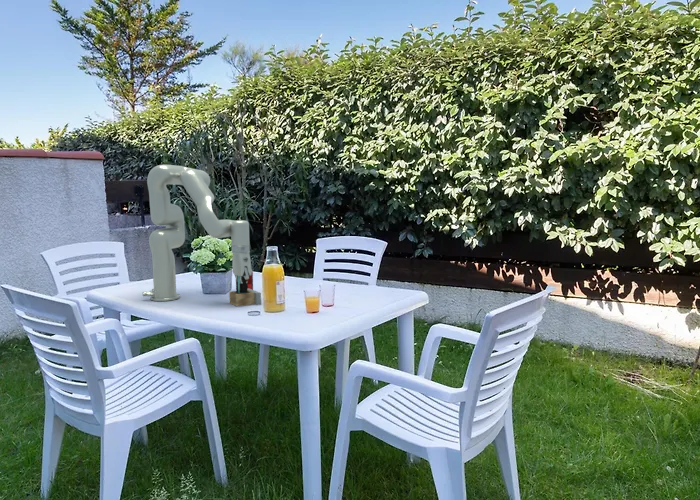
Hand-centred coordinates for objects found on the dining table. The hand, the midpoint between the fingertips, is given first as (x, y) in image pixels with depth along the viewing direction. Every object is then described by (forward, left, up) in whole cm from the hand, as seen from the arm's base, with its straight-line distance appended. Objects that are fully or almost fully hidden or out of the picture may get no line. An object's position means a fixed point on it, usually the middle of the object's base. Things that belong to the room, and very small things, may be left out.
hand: (241, 291), depth 210 cm
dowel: (0, 0, -3) cm, 3 cm away
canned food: (+10, +20, -6) cm, 23 cm away
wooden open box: (0, 0, -5) cm, 5 cm away
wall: (+5, 0, -5) cm, 7 cm away
